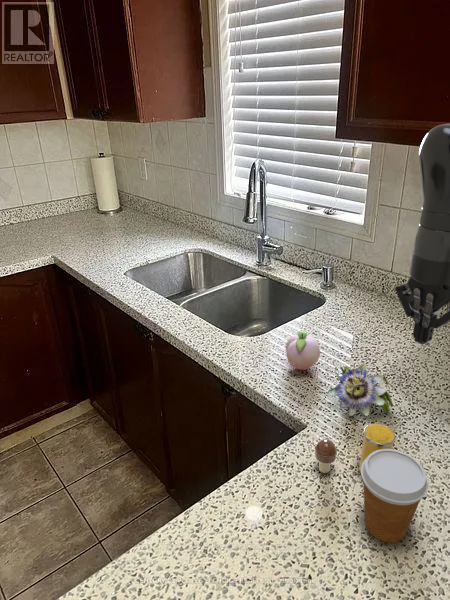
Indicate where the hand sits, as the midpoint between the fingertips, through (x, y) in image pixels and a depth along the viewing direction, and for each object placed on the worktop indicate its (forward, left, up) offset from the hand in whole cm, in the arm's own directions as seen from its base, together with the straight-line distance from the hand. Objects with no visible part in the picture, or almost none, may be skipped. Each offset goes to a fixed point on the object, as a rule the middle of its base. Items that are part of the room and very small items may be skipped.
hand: (421, 341), depth 81 cm
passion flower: (+10, -4, -21) cm, 24 cm away
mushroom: (+12, +17, -21) cm, 29 cm away
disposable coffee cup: (0, +24, -21) cm, 32 cm away
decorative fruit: (+26, -12, -21) cm, 36 cm away
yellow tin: (+4, +14, -21) cm, 25 cm away
